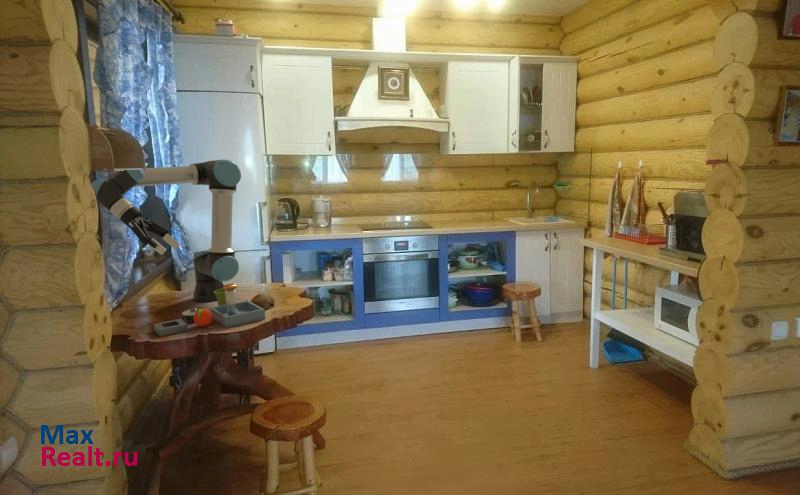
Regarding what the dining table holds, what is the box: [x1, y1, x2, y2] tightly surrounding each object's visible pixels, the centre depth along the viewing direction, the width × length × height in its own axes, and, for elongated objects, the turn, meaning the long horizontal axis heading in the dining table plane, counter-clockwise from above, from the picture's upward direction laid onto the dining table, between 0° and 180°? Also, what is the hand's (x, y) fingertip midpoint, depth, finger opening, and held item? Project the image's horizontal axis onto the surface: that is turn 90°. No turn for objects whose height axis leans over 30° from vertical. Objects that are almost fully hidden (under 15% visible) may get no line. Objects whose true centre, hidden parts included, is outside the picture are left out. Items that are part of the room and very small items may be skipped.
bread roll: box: [250, 292, 276, 310], centre depth 213 cm, size 10×10×8 cm
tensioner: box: [153, 307, 201, 338], centre depth 191 cm, size 18×20×4 cm
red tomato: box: [193, 307, 214, 327], centre depth 188 cm, size 8×7×7 cm
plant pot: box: [214, 287, 238, 306], centre depth 211 cm, size 9×9×9 cm
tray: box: [209, 300, 266, 328], centre depth 198 cm, size 18×16×4 cm
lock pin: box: [223, 283, 238, 316], centre depth 196 cm, size 5×5×13 cm
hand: (171, 249), depth 190 cm, fingers open, 13 cm apart
